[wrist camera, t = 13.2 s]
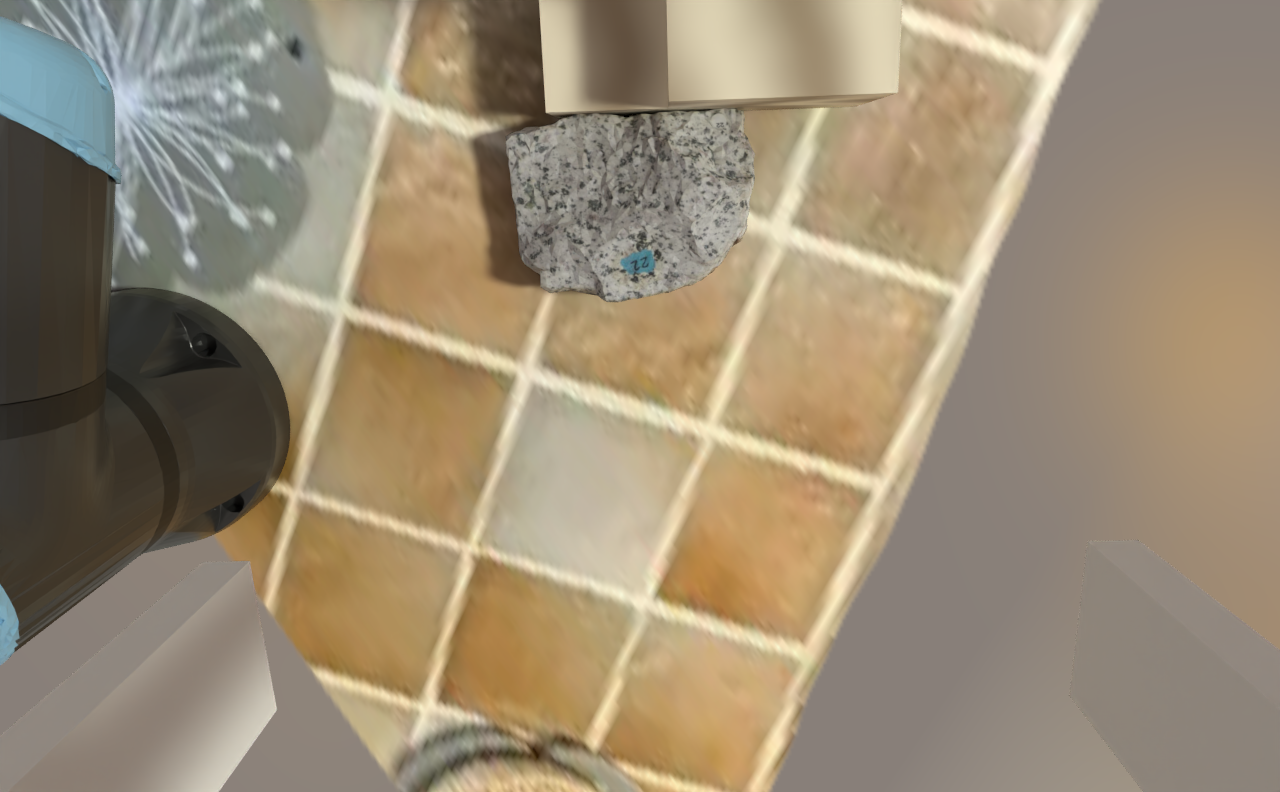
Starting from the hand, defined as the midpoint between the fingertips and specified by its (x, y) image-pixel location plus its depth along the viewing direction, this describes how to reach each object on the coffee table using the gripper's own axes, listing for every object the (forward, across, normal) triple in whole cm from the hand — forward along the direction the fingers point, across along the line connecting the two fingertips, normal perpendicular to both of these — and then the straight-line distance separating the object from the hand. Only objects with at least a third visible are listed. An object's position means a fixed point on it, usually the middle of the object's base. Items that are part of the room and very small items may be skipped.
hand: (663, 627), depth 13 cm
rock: (+35, -1, +5) cm, 36 cm away
